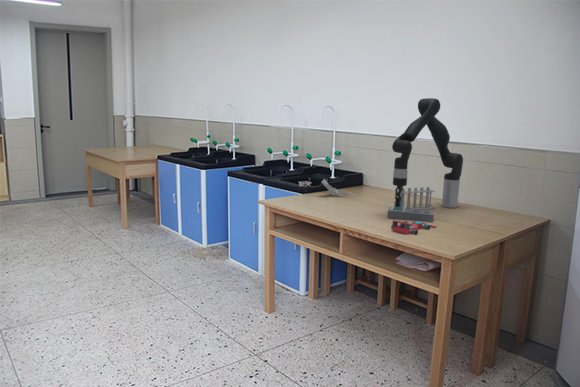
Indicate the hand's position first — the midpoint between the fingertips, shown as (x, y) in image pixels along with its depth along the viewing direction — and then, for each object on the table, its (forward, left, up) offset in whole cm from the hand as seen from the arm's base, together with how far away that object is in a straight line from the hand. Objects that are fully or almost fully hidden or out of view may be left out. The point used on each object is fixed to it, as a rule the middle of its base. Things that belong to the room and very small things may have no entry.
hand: (398, 205), depth 268 cm
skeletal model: (-46, -47, -7) cm, 66 cm away
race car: (+24, +11, -7) cm, 27 cm away
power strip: (0, +7, -6) cm, 9 cm away
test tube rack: (-25, +7, -7) cm, 27 cm away
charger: (0, 0, -5) cm, 5 cm away
